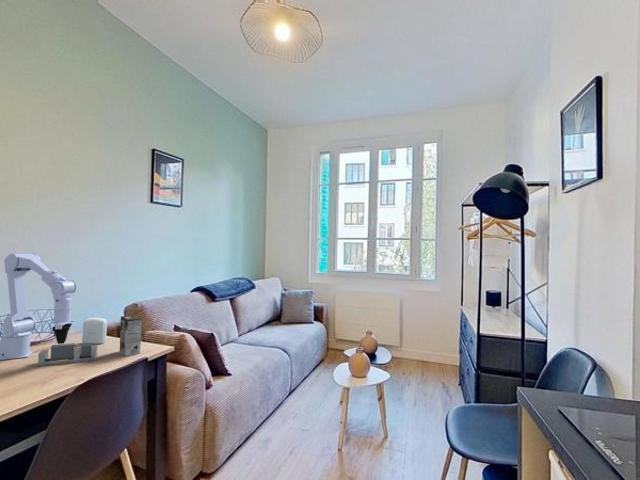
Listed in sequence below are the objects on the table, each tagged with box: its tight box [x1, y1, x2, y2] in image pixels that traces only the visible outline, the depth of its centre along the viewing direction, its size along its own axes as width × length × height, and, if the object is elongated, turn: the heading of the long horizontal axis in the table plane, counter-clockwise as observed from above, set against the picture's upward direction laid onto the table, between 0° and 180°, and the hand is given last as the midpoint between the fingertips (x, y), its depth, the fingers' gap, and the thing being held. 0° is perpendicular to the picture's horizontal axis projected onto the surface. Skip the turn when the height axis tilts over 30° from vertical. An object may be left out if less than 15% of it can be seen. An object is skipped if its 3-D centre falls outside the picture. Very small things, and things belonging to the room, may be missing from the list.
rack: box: [37, 343, 98, 367], centre depth 138 cm, size 19×6×6 cm, turn 118°
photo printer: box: [81, 317, 108, 345], centre depth 163 cm, size 10×4×12 cm, turn 98°
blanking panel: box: [50, 342, 76, 361], centre depth 138 cm, size 8×2×7 cm, turn 118°
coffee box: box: [119, 314, 143, 357], centre depth 152 cm, size 9×6×16 cm
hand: (61, 342), depth 137 cm, fingers closed
